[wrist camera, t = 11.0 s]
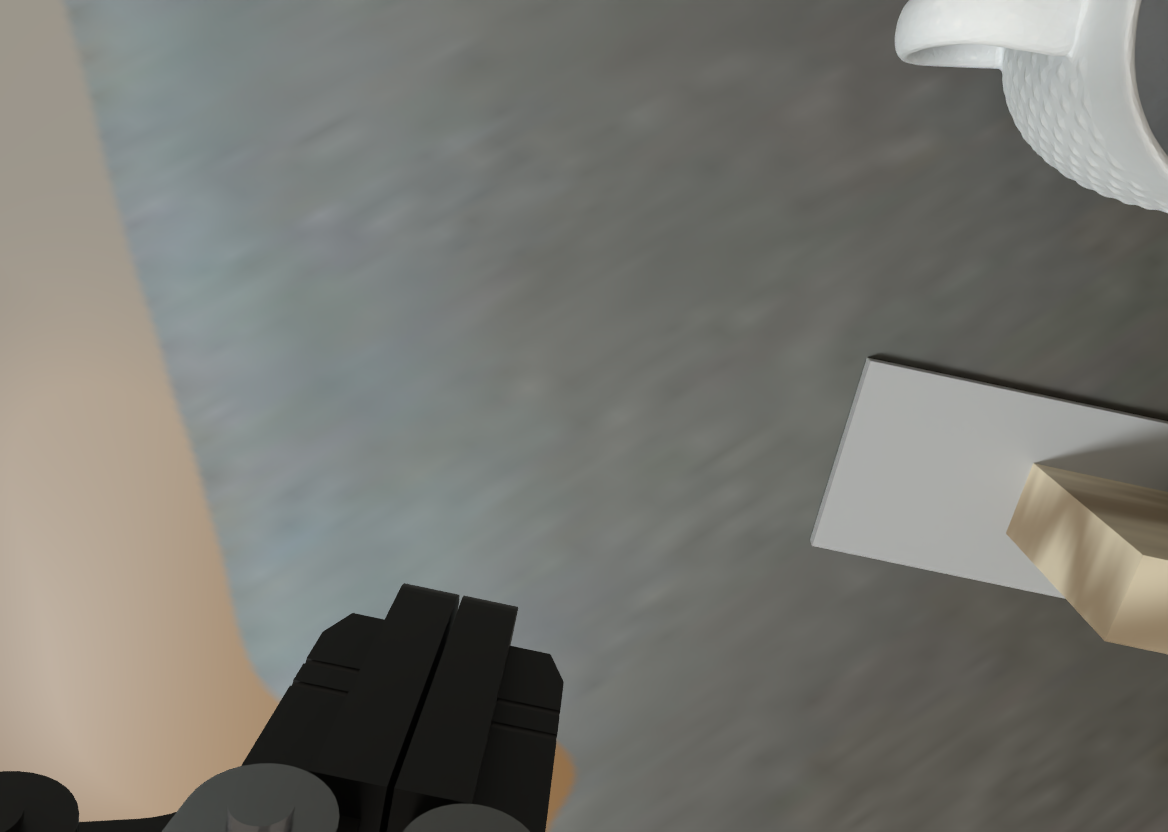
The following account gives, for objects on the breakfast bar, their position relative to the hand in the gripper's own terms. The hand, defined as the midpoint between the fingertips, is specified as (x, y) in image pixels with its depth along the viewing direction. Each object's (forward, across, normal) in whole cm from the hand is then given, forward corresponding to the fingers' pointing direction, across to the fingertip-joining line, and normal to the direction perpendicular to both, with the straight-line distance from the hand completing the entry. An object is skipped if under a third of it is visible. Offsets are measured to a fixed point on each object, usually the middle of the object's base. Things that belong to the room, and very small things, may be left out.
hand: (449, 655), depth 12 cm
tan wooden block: (+28, -27, +5) cm, 40 cm away
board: (+29, -24, +5) cm, 38 cm away
